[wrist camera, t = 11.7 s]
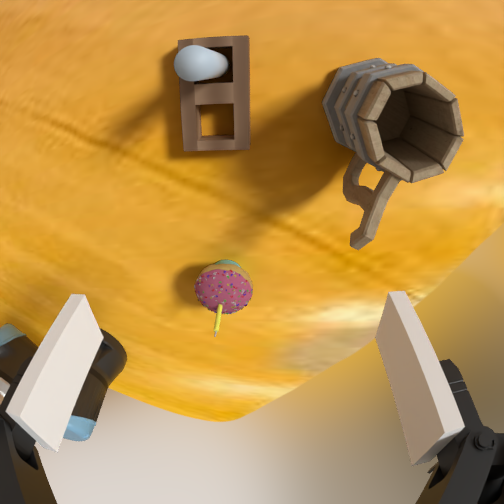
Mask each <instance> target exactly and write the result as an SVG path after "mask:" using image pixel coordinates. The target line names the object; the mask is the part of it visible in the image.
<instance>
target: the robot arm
mask: <svg viewBox="0 0 504 504" xmlns="http://www.w3.org/2000/svg"><path fill="white" fill-rule="evenodd" d="M375 338H376V341H377V344H378V347H379V351H380V354H381V357H382V360H383V363H384V366H385V369H386V372H387V376H388V379H389V382H390V386H391V388H392V392H393V396H394V399H395V403H396V406H397V410H398V413H399V417H400V420H401V424H402V428H403V432H404V435H405V440H406V444H407V448H408V452H409V455H410V460H411V464H412V466H414V465H418V464H422V463H426V462H429V461H431V460H432V459H433V458H434V457H435V456H436V455H437V457H438V461H439V462H437V463H436V464H435V465H434V466H433V467H432V468H431V469H430V470H429V471H428V473H431V472H432V471H433V473H432V474H431V476H430V478H429V480H428V482H427V484H426V486H425V488H424V490H423V492H422V493H421V495H420V497H419V499H418V500H417V502H416V504H504V433H494V432H493V430H492V429H490V428H488V427H486V426H483V424H482V423H481V421H480V419H479V416H478V413H477V411H476V408H475V406H474V403H473V401H472V398H471V396H470V394H469V392H468V391H467V387H466V384H465V382H463V378H462V375H461V373H460V371H459V369H458V368H457V367H456V366H455V365H454V363H452V361H451V360H450V359H448V360H443V361H438V359H437V356H436V354H435V352H434V350H433V348H432V345H431V343H430V341H429V339H428V337H427V335H426V333H425V330H424V328H423V326H422V325H421V322H420V320H419V318H418V316H417V314H416V312H415V310H414V308H413V306H412V304H411V302H410V300H409V298H408V296H407V295H406V293H405V291H396V292H388V296H387V300H386V303H385V307H384V310H383V314H382V317H381V320H380V324H379V327H378V330H377V333H376V337H375ZM126 361H127V355H126V352H125V350H124V348H123V347H122V345H121V344H120V343H119V342H118V341H117V340H116V339H115V338H114V337H113V336H111V335H110V334H109V333H107V332H106V331H104V330H102V329H100V328H99V326H98V324H97V322H96V320H95V317H94V315H93V313H92V311H91V308H90V306H89V303H88V301H87V299H86V296H85V295H83V294H71V296H70V297H69V299H68V300H67V302H66V304H65V305H64V307H63V308H62V310H61V311H60V313H59V315H58V316H57V318H56V319H55V321H54V323H53V324H52V326H51V328H50V329H49V331H48V333H47V334H46V336H45V338H44V339H43V341H42V343H41V345H40V346H39V347H38V346H37V345H35V344H34V343H33V342H32V341H31V340H30V339H29V338H27V337H26V334H24V333H22V332H21V331H20V330H18V329H17V328H16V327H15V326H14V325H12V324H5V325H3V326H2V327H1V328H0V504H57V502H56V500H55V497H54V495H53V492H52V490H51V487H50V485H49V482H48V480H47V477H46V474H45V471H44V468H43V466H42V463H41V460H40V457H39V453H38V451H37V449H36V447H35V446H34V444H35V442H36V441H37V442H38V443H39V444H40V445H41V446H42V447H43V448H46V449H49V450H52V451H55V452H58V450H59V447H60V444H61V441H62V438H65V439H69V440H74V441H85V440H87V439H88V438H89V437H90V436H91V433H92V431H93V429H94V426H95V425H96V421H97V418H98V415H99V412H100V409H101V406H102V403H103V400H104V397H105V394H106V392H107V389H108V386H109V385H110V384H111V383H112V382H113V380H114V379H115V378H116V377H117V376H118V374H119V373H120V372H122V370H123V369H124V366H125V363H126Z"/></svg>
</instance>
